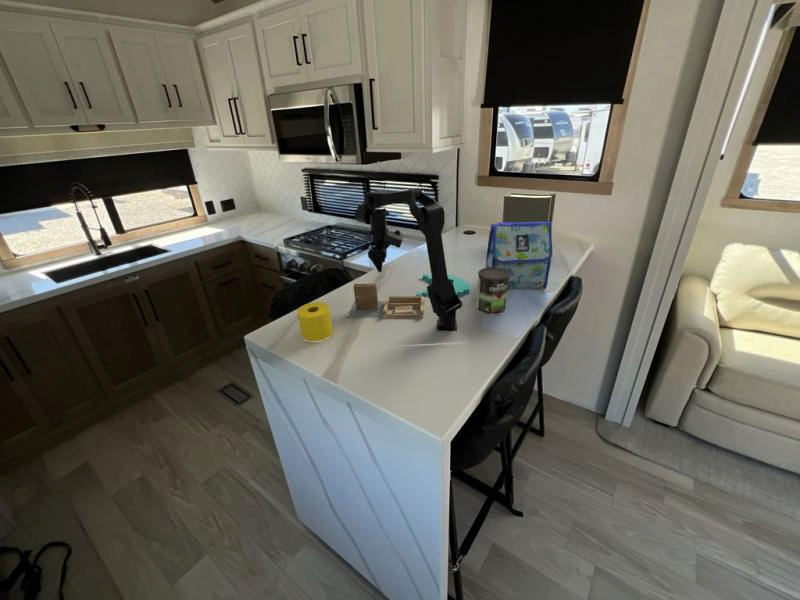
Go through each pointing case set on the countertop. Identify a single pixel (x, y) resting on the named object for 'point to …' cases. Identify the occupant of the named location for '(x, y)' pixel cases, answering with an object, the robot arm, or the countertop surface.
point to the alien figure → (458, 284)
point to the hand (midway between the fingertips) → (381, 267)
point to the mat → (366, 312)
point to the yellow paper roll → (315, 321)
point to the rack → (404, 301)
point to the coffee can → (492, 291)
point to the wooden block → (366, 296)
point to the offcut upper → (404, 310)
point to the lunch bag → (521, 253)
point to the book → (528, 207)
